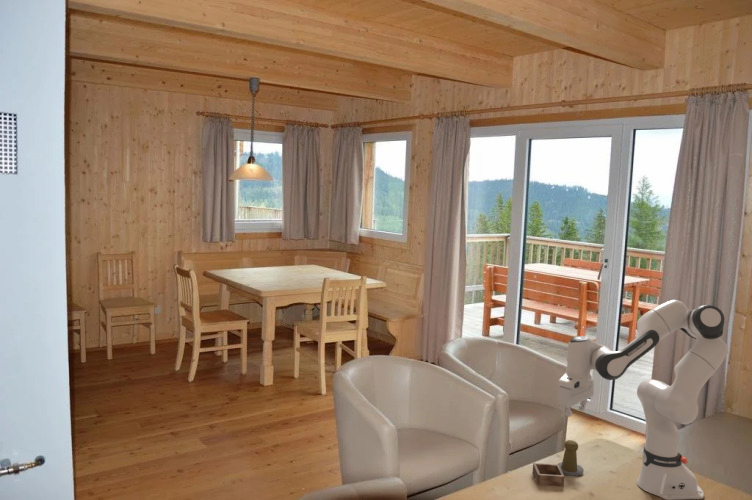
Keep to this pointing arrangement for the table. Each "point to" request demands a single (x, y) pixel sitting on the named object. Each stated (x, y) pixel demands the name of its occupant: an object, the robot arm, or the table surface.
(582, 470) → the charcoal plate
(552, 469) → the walnut holder
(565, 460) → the cork
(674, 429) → the robot arm
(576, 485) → the table surface
